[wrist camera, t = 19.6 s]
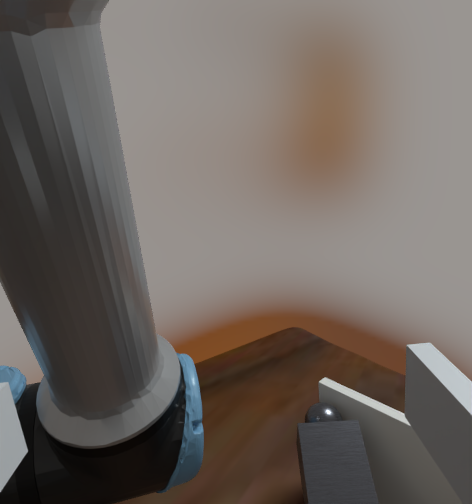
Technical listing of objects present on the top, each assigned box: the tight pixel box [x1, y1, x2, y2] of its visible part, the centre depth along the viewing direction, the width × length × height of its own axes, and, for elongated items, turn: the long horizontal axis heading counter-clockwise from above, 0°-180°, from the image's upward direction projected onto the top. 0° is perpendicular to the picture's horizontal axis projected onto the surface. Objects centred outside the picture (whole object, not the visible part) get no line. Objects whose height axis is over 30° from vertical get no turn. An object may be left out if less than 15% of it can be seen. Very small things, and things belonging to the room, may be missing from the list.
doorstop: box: [297, 402, 379, 504], centre depth 35 cm, size 9×9×18 cm
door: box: [319, 378, 463, 504], centre depth 39 cm, size 17×3×14 cm, turn 41°
